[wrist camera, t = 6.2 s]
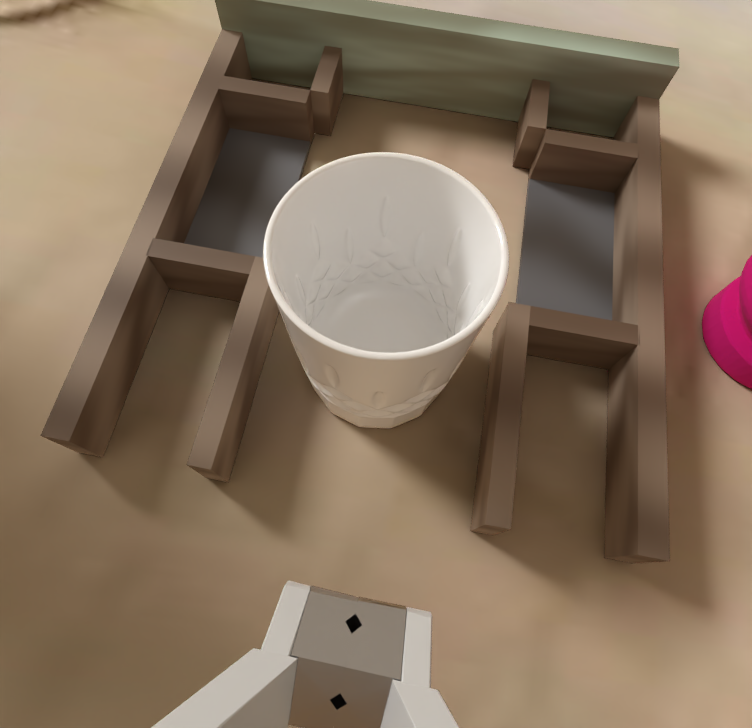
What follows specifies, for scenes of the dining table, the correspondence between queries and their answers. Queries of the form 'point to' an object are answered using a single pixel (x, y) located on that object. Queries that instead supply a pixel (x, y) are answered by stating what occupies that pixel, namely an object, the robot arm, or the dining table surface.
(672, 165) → the dining table surface
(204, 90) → the organizer tray
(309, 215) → the white cup
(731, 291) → the pepper mill
